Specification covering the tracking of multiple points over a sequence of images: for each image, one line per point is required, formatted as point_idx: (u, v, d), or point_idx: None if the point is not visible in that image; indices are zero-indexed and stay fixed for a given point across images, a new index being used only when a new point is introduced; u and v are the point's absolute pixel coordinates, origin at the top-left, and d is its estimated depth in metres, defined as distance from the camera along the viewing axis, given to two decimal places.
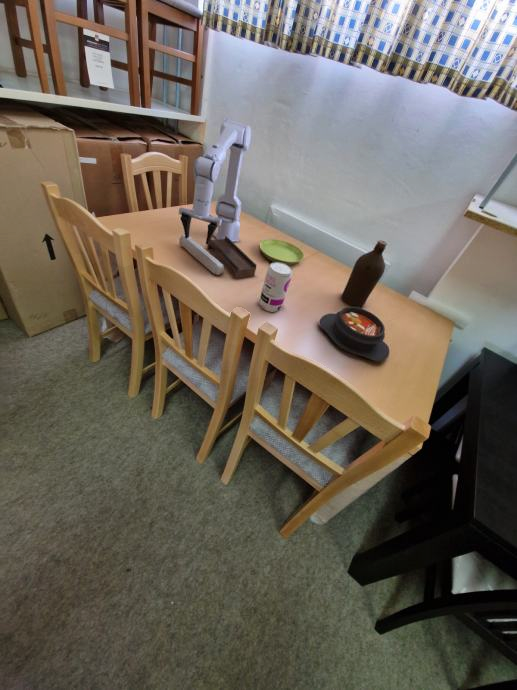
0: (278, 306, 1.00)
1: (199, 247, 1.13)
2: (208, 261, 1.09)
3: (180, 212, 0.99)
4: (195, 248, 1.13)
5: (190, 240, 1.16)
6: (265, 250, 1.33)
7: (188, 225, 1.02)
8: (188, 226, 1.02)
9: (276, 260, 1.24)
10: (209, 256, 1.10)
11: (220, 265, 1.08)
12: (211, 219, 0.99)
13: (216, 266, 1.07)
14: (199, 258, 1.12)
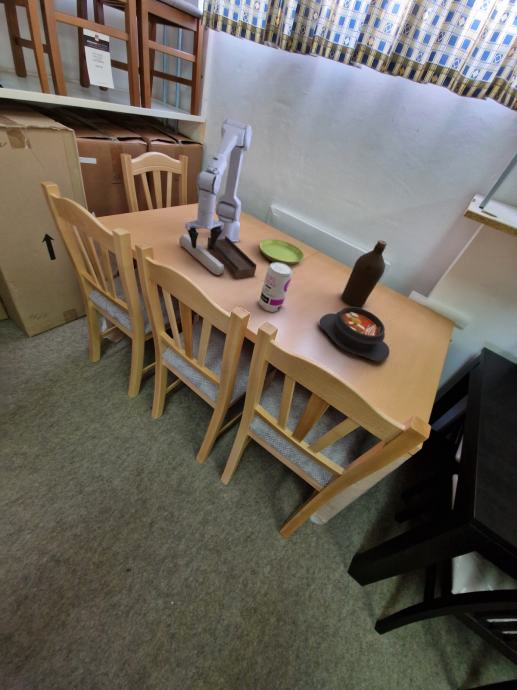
0: (278, 306, 1.00)
1: (199, 247, 1.13)
2: (208, 261, 1.09)
3: (188, 228, 1.03)
4: None
5: (190, 240, 1.16)
6: (265, 250, 1.33)
7: None
8: None
9: (276, 260, 1.24)
10: (209, 256, 1.10)
11: (220, 265, 1.08)
12: (217, 225, 1.08)
13: (216, 266, 1.07)
14: (199, 258, 1.12)
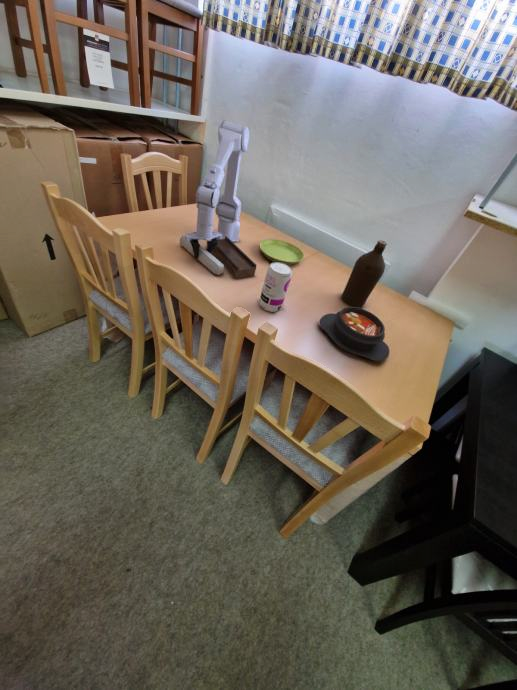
0: (278, 306, 1.00)
1: None
2: (209, 261, 1.09)
3: (188, 239, 1.06)
4: None
5: None
6: (265, 250, 1.33)
7: None
8: None
9: (276, 260, 1.24)
10: (210, 256, 1.10)
11: (221, 265, 1.08)
12: (216, 236, 1.11)
13: (217, 266, 1.08)
14: (200, 258, 1.12)
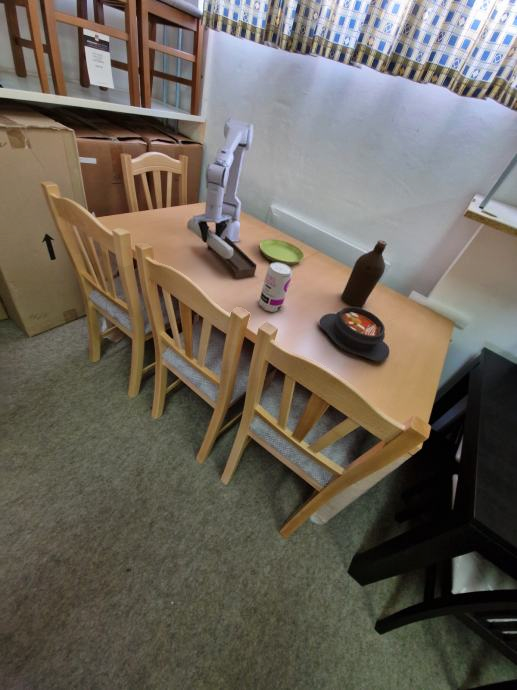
0: (278, 306, 1.00)
1: (208, 230, 1.10)
2: (217, 244, 1.05)
3: (196, 221, 1.02)
4: None
5: None
6: (265, 250, 1.33)
7: None
8: None
9: (276, 260, 1.24)
10: (218, 239, 1.06)
11: (230, 248, 1.04)
12: (225, 219, 1.07)
13: (226, 249, 1.04)
14: (208, 241, 1.08)
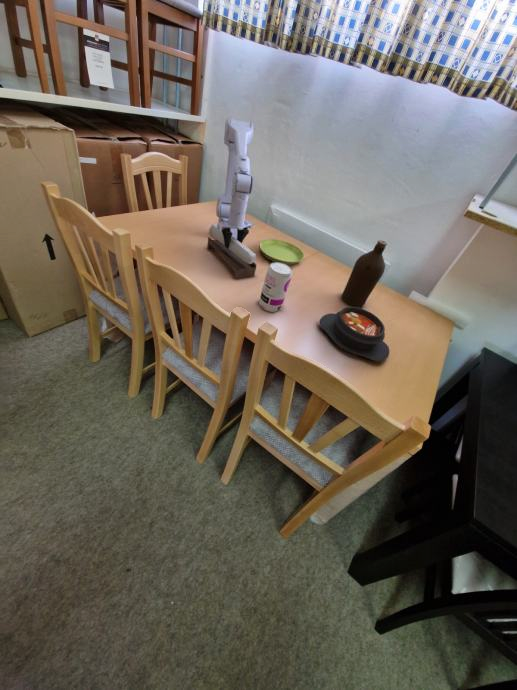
0: (278, 306, 1.00)
1: None
2: (240, 250, 1.09)
3: (221, 228, 1.06)
4: None
5: None
6: (265, 250, 1.33)
7: None
8: None
9: (276, 260, 1.24)
10: (241, 245, 1.10)
11: (252, 254, 1.08)
12: (247, 225, 1.10)
13: (248, 255, 1.07)
14: (230, 247, 1.12)
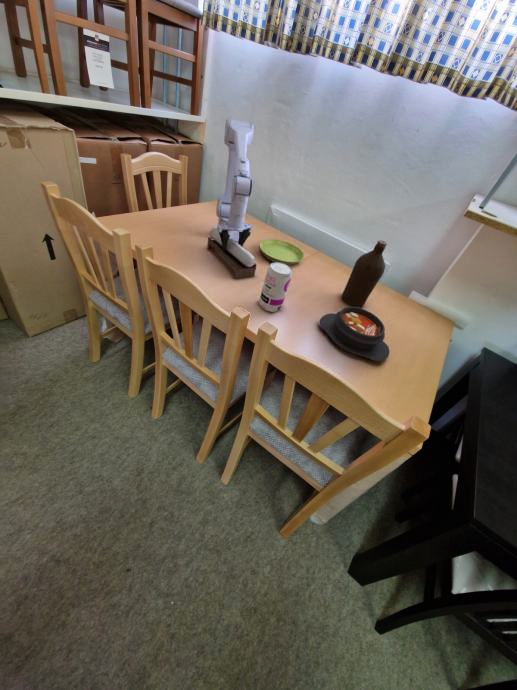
0: (278, 306, 1.00)
1: (231, 239, 1.14)
2: (240, 252, 1.10)
3: (220, 230, 1.06)
4: None
5: None
6: (265, 250, 1.33)
7: None
8: None
9: (276, 260, 1.24)
10: (242, 248, 1.11)
11: (252, 257, 1.09)
12: (247, 227, 1.11)
13: (249, 257, 1.08)
14: (230, 249, 1.13)
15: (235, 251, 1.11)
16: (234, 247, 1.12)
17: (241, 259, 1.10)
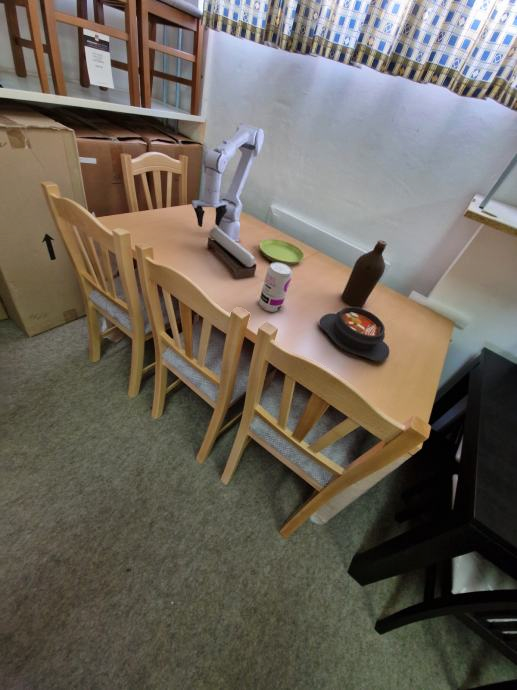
0: (278, 306, 1.00)
1: (231, 239, 1.14)
2: (240, 252, 1.10)
3: (195, 206, 1.08)
4: (227, 239, 1.14)
5: (222, 232, 1.17)
6: (265, 250, 1.33)
7: None
8: None
9: (276, 260, 1.24)
10: (242, 248, 1.11)
11: (252, 257, 1.09)
12: (222, 204, 1.13)
13: (249, 257, 1.08)
14: (230, 249, 1.13)
15: (235, 251, 1.11)
16: (234, 247, 1.12)
17: (241, 259, 1.10)
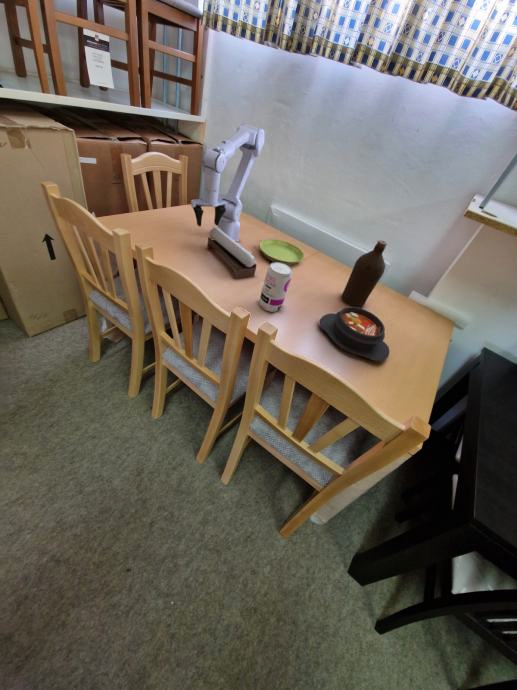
0: (278, 306, 1.00)
1: (231, 239, 1.14)
2: (240, 252, 1.10)
3: (194, 205, 1.08)
4: (227, 239, 1.14)
5: (222, 232, 1.17)
6: (265, 250, 1.33)
7: None
8: None
9: (276, 260, 1.24)
10: (242, 248, 1.11)
11: (252, 257, 1.09)
12: (221, 203, 1.13)
13: (249, 257, 1.08)
14: (230, 249, 1.13)
15: (235, 251, 1.11)
16: (234, 247, 1.12)
17: (241, 259, 1.10)
